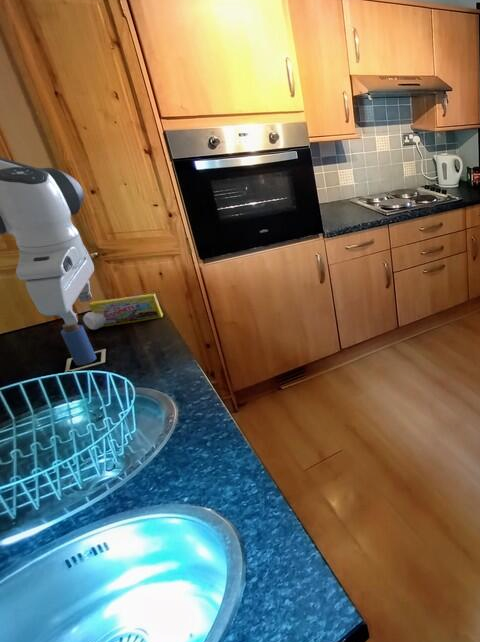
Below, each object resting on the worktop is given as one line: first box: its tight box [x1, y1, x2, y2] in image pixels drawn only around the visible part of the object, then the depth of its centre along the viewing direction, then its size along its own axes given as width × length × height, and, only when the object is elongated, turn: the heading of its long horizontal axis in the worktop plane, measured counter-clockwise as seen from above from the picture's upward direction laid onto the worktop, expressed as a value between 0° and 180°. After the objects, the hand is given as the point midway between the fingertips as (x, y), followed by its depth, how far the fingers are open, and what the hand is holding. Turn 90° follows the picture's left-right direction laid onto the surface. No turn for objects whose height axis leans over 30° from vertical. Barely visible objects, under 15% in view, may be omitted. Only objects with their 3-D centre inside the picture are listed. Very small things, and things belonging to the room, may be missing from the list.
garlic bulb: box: [82, 311, 106, 331], centre depth 138 cm, size 6×6×5 cm
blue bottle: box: [60, 322, 97, 367], centre depth 120 cm, size 4×4×12 cm
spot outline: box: [64, 348, 107, 373], centre depth 122 cm, size 8×8×1 cm
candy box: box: [88, 292, 164, 328], centre depth 140 cm, size 16×2×8 cm, turn 113°
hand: (80, 310), depth 95 cm, fingers open, 8 cm apart
